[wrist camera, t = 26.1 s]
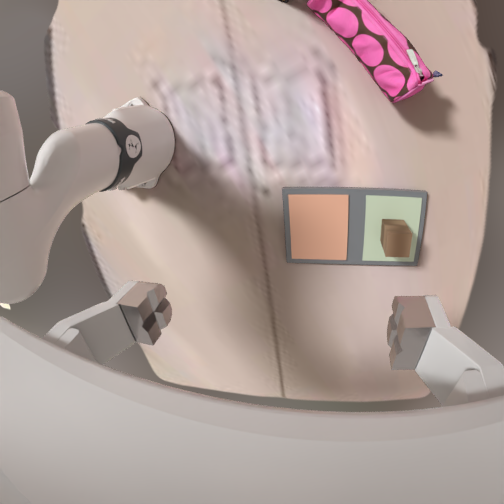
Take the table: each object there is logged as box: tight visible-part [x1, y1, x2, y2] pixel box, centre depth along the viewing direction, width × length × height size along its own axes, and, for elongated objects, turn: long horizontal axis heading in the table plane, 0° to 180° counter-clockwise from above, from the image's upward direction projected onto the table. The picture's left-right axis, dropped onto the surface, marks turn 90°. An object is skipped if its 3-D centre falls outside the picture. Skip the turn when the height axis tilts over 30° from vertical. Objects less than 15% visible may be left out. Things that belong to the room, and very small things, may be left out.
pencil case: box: [307, 0, 443, 103], centre depth 27 cm, size 21×10×10 cm, turn 42°
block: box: [380, 219, 412, 257], centre depth 41 cm, size 4×4×6 cm
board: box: [282, 187, 427, 266], centre depth 46 cm, size 25×14×1 cm, turn 96°
